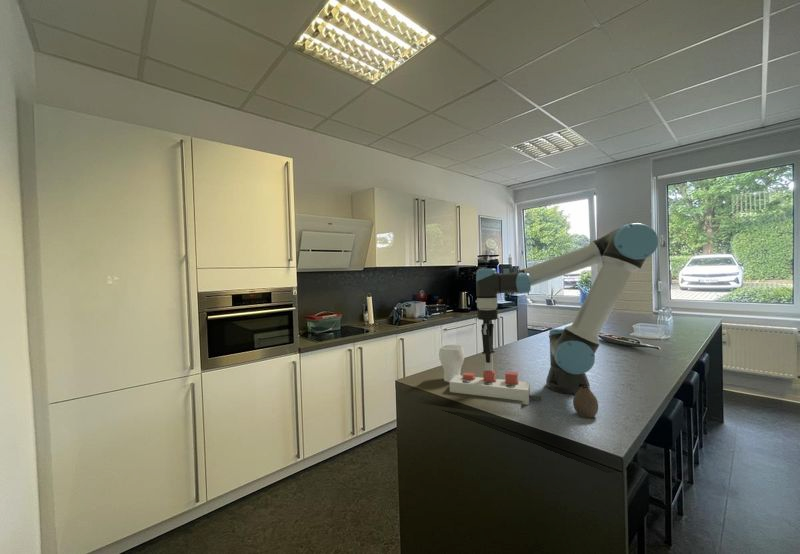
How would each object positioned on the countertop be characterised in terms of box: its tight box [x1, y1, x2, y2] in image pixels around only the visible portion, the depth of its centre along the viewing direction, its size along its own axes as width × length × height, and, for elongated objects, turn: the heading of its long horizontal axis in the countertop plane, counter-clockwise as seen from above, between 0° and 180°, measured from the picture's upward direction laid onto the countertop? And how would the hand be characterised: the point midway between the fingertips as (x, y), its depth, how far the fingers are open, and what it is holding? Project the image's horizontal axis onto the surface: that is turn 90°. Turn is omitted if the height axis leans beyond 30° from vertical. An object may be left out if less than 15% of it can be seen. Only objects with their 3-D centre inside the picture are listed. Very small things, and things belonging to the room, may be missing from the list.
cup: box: [438, 344, 465, 383], centre depth 137 cm, size 11×11×15 cm
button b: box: [482, 369, 497, 382], centre depth 123 cm, size 4×3×4 cm
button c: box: [462, 372, 476, 380], centre depth 126 cm, size 4×3×4 cm
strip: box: [448, 374, 542, 405], centre depth 120 cm, size 32×9×5 cm, turn 65°
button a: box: [504, 371, 519, 385], centre depth 119 cm, size 4×3×4 cm
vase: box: [572, 386, 599, 419], centre depth 101 cm, size 7×7×9 cm
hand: (488, 370), depth 123 cm, fingers closed
